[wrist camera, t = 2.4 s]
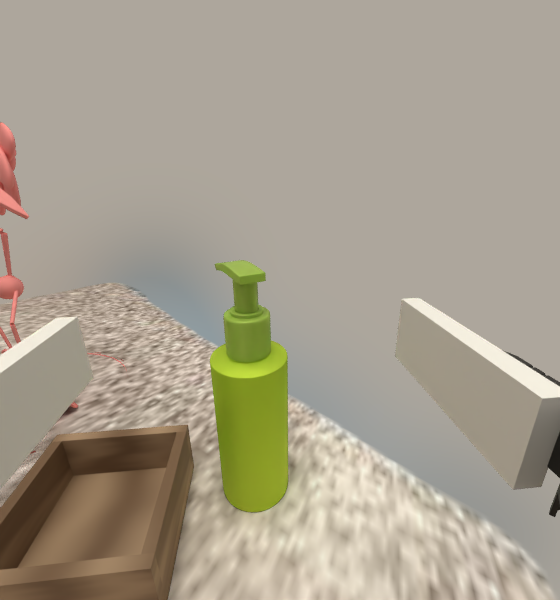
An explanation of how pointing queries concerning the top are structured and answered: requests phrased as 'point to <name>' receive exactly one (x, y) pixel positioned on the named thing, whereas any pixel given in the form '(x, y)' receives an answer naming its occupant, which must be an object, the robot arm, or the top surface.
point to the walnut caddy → (98, 517)
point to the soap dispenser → (250, 398)
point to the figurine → (5, 195)
